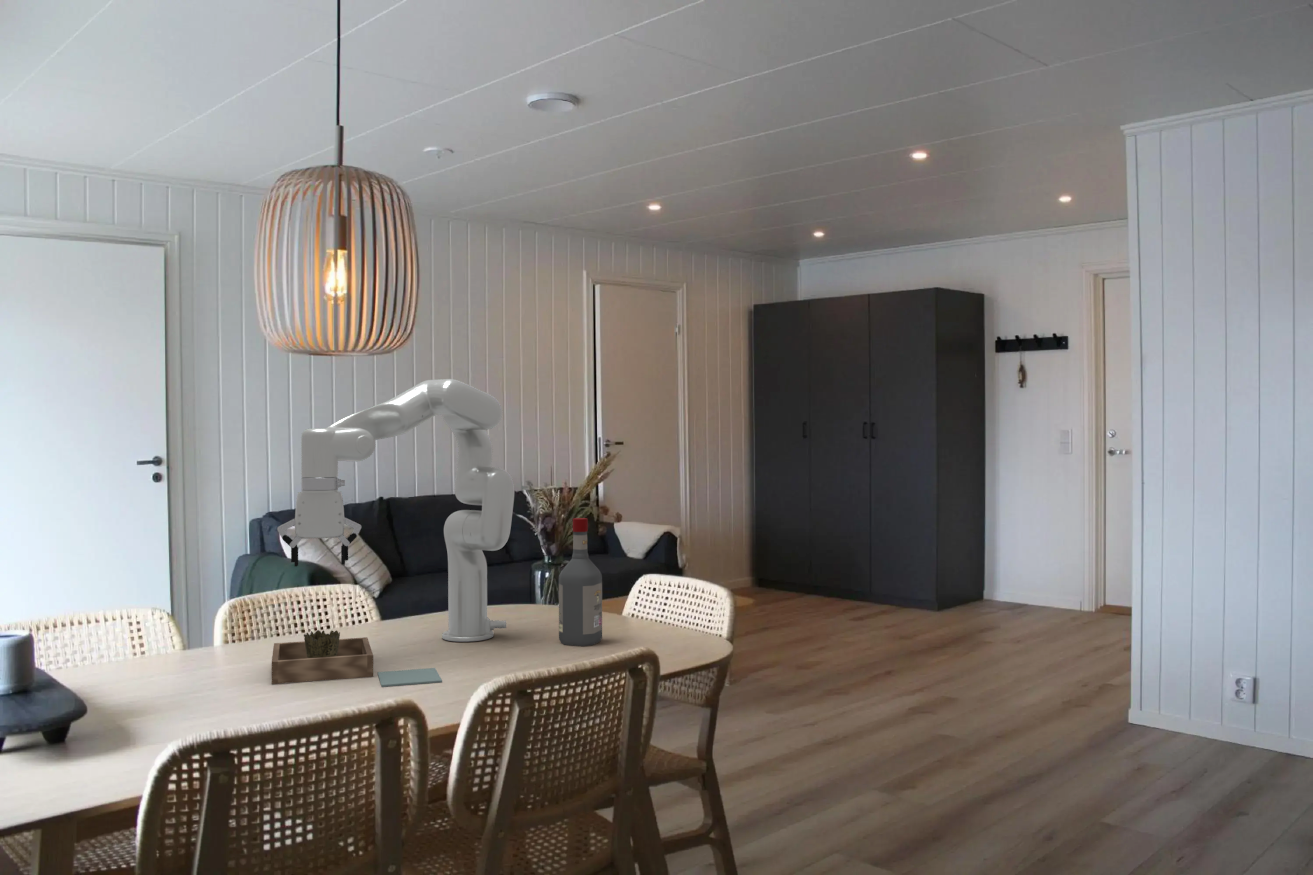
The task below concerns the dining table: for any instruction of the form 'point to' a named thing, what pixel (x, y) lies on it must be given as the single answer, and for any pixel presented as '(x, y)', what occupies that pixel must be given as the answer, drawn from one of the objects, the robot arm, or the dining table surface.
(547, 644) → the dining table surface
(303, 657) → the walnut box
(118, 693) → the dining table surface
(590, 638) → the liquor
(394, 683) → the mat
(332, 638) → the cup
